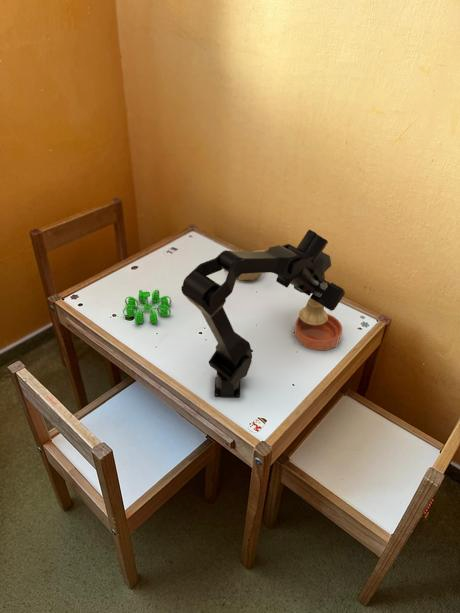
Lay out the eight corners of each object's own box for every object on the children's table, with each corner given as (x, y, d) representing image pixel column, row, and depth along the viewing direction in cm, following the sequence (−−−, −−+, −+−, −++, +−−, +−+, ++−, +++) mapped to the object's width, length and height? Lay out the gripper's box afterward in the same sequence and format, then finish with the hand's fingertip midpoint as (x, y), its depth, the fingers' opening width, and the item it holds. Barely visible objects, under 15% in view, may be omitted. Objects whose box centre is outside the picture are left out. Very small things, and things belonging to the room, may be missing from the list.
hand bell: (297, 322, 132) (305, 276, 122) (300, 305, 138) (308, 259, 128) (326, 328, 131) (337, 281, 121) (328, 310, 137) (339, 264, 127)
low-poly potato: (272, 280, 158) (266, 251, 162) (268, 266, 148) (262, 235, 152) (229, 290, 160) (224, 261, 164) (222, 277, 150) (217, 246, 154)
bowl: (343, 352, 132) (345, 342, 129) (296, 350, 132) (298, 340, 129) (336, 321, 142) (338, 312, 140) (292, 319, 142) (294, 310, 140)
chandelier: (159, 333, 135) (158, 315, 131) (113, 321, 139) (110, 302, 135) (180, 303, 147) (180, 285, 142) (137, 292, 150) (135, 274, 146)
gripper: (348, 263, 112) (364, 284, 125) (289, 233, 123) (310, 255, 135) (322, 302, 113) (341, 319, 126) (265, 269, 123) (289, 287, 136)
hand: (320, 293), depth 131 cm, fingers closed on hand bell
